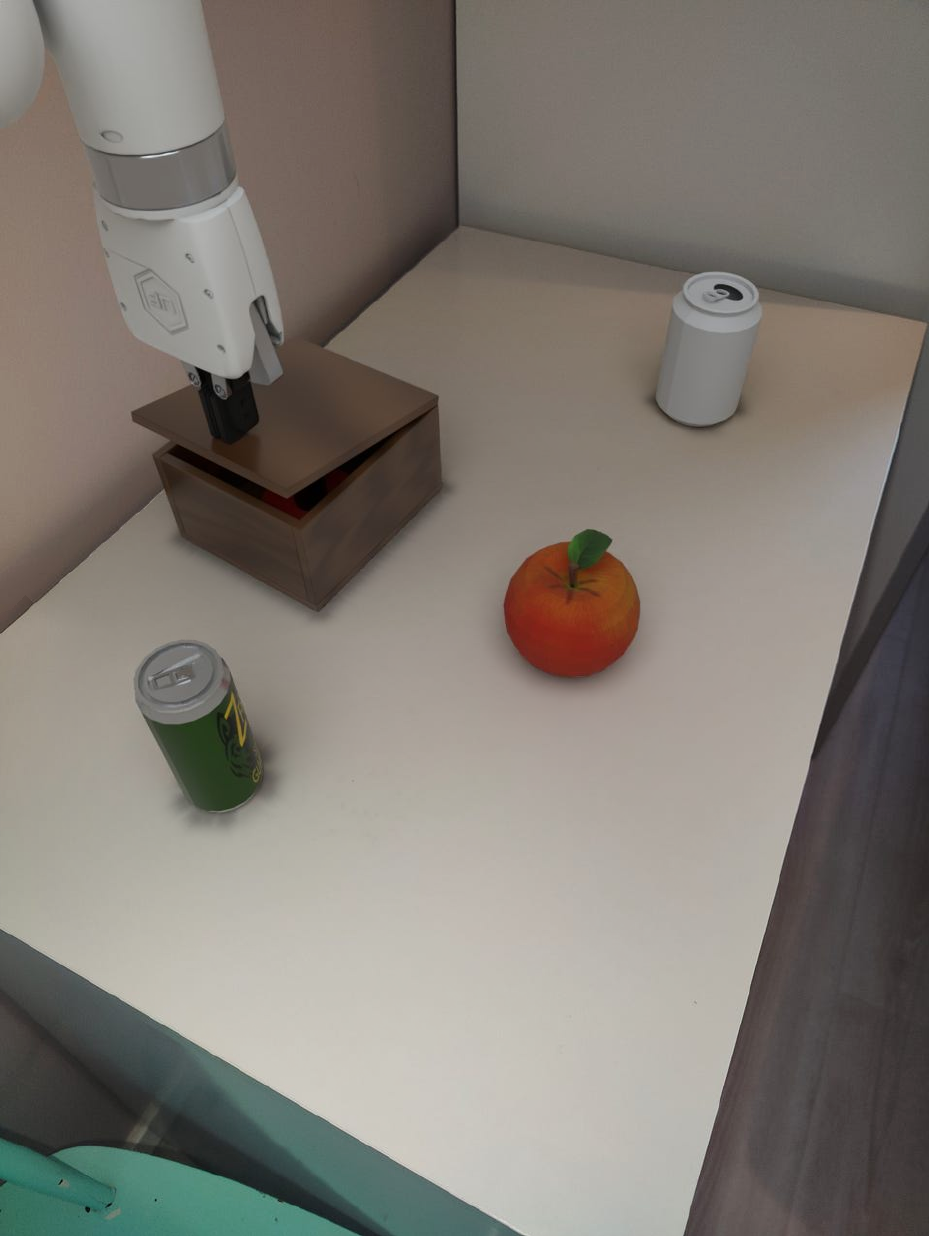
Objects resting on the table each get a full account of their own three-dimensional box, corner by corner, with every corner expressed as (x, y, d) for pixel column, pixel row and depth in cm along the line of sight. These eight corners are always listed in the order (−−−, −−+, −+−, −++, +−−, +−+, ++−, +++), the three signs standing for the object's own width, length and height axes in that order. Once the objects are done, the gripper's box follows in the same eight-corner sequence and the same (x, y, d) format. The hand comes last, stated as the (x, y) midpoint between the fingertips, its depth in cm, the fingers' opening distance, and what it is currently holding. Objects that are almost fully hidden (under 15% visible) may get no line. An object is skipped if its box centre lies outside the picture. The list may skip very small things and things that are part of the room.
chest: (317, 612, 69) (300, 530, 62) (181, 537, 74) (151, 454, 67) (442, 488, 77) (439, 404, 71) (312, 428, 83) (297, 345, 76)
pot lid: (252, 539, 73) (236, 482, 68) (273, 469, 78) (260, 412, 73) (355, 543, 72) (346, 486, 68) (369, 473, 78) (362, 416, 73)
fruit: (474, 652, 66) (473, 559, 58) (553, 578, 71) (562, 483, 63) (579, 724, 62) (594, 635, 54) (656, 641, 67) (679, 547, 59)
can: (752, 412, 83) (787, 294, 74) (693, 443, 81) (720, 324, 71) (696, 372, 87) (721, 255, 78) (637, 400, 85) (656, 283, 75)
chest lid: (286, 499, 59) (286, 488, 59) (131, 421, 64) (130, 411, 64) (438, 404, 71) (439, 395, 70) (296, 345, 76) (296, 336, 75)
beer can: (194, 829, 57) (140, 728, 48) (175, 762, 61) (120, 655, 51) (275, 797, 59) (238, 693, 50) (252, 733, 62) (213, 624, 53)
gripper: (16, 154, 49) (121, 422, 64) (214, 227, 44) (281, 502, 58) (120, 105, 53) (197, 368, 68) (314, 166, 48) (353, 438, 62)
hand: (236, 429), depth 63 cm, fingers closed
